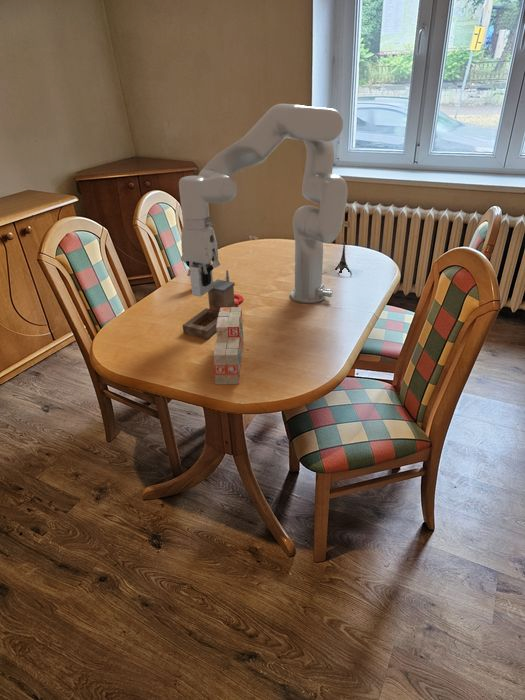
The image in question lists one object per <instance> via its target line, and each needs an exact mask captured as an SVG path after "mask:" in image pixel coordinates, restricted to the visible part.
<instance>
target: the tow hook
mask: <svg viewBox="0 0 525 700" xmlns="http://www.w3.org/2000/svg"><path fill="white" fill-rule="evenodd" d="M225 281H229V282H230V275H229V270H226V271H225ZM234 299H237V300H234V303H235V307H239V306H240V305H239V304H242V303H243V301H244V297H243V296H242V295H241V294H237V293H234Z"/></svg>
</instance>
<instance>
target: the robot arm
mask: <svg viewBox="0 0 525 700" xmlns="http://www.w3.org/2000/svg"><path fill="white" fill-rule="evenodd" d="M343 127H344V121H343V117H342V115H341V114H340V111H338V110H337V109H335V108H331V107H330V108H329V107H328V108H327V107H319V106H307V105H303V104H302V105H301V104H294V103H293V104H291V103H277V104H274V105H273V106H271V107H270V108H269V109H268V110H267V111H266V112H265V113H264V114H263V116H262V117H260V118H259V119H258V121H257V122H256V123H255V124H254V125H253V126H252V127H251V128H250V130H248V131H247V132H246V133H245V135H243V136H242V138H240V139H238V140H237V141H235V142H234V143H233V142H232V144H231V145H229V146H227V147H225V148H223V150H221V151H220V152H218V153H217V154H215V156H214V157H212V158H211V159H210V160H209V161H208V162H207V164H206V165H205V166H203V168H202V169H201V170H200V172H199V173H198V175H188V176H187V175H186V176H183V177H181V178H179V180H178V181H179V182H178V190H179V199H180V208H181V216H182V217H181V218H182V227H181V236H180V237H181V238H180V239H181V242H180V243H181V257H180V260H181V261H182V262H184V264H186V266H187V268H189V266H191V265H193V264H195V263H201V264H202V265H203V271H204V274H203V285H204V286H205V287H206V286H208V285H209V284H211V271H212V272H213V270H214V269H216V268H218V267H220V265H221V263H220V261H219V252H218V251H219V249H218V242H217V237H216V234H215V231H214V228H213V227H212V226H213V225H214V222H213V221H212V220H211V219H210V218H211V217H210V207H209V204H226V203H229V202H231V201H233V199H234V198H235V197H236V196H237V193H238V184H237V182H236V180H235V179H234V178H233V177H231V176H233V174H235V173H236V172H238V171H240V170H243V169H246V168H251V167H254V166H257V165H261V164H262V163H264V162H265V161H266V160H267V158H268V157H269V156H271V154H272V153H273V152H274V151H275V150H276V149H277V147H279V146H280V145H281V144H282V142H283V141H284V140H286V139H289V140H290V139H291V140H295V141H303V143H304V146H305V152H306V159H305V167H304V172H303V173H304V174H303V179H302V185H301V186H302V187H301V195H302V196H303V197H304V199H306V200H307V201H310V203H311V202H312V203H314V204H317V205H319V207H317V206H314V205H309V204H308V205H303V206H300V207H299V208H297V209H296V210H295V212H294V214H293V217H292V230H293V235H294V236H293V237H294V249H295V250H294V288H293V289H292V290H291V291H290V292H289V293H290V294H289V297H290V298H291V300H293V301H295V302H297V303H301V304H316V303H319V302H321V301H322V302H323V300H325V298H326V297H327V298H332V296H333V291H332V289H331V288H326V287H325V283H323V282H322V281H323V274H322V272H323V264H324V263H323V262H324V261H323V260H324V244H329V243H332V242H334V241H335V240H336V239H337V238H338V237H339V234H340V232H341V231H342V230H341V229H342V227H343V222H344V216H345V212H346V206H347V203H348V202H347V201H348V196H349V195H348V194H349V193H348V192H349V190H348V185H347V181H346V180H345V179H344V178H343V177H342V176H340V175H338V174H335V173H333V169H334V160H335V149H334V148H335V147H334V142H333V141H335V140H336V139H338V137H339V136H340V135H341V133H342V131H343ZM323 243H324V244H323ZM207 267H208V268H207Z"/></svg>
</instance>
